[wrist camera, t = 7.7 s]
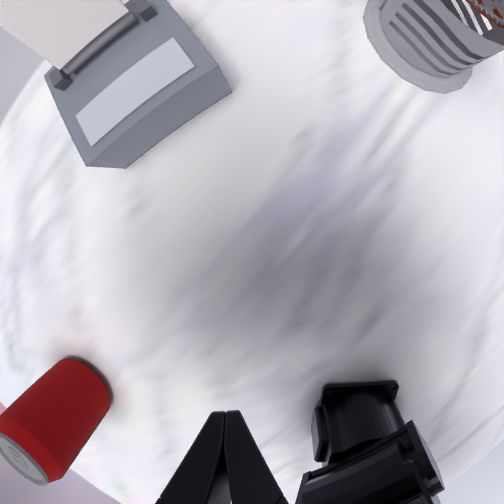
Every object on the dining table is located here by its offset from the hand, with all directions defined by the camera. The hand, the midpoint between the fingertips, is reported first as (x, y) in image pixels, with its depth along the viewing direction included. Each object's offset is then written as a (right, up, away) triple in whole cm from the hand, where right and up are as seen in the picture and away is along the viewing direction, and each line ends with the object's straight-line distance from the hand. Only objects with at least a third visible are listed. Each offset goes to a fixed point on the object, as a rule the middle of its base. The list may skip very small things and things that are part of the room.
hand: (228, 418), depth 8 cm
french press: (+13, +22, +8) cm, 26 cm away
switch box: (-7, +16, +10) cm, 20 cm away
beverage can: (-15, -8, +16) cm, 24 cm away
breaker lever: (-8, +17, +4) cm, 19 cm away
